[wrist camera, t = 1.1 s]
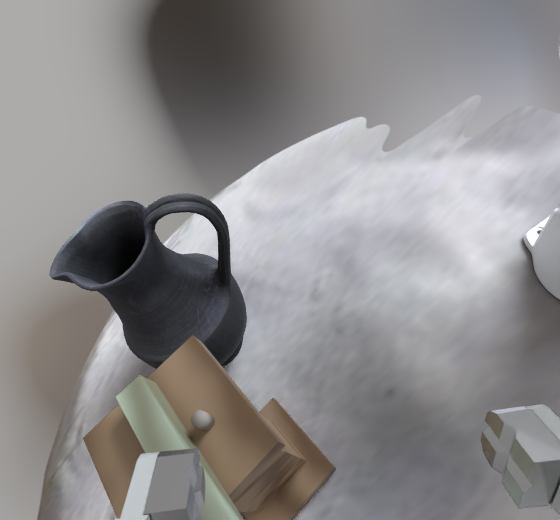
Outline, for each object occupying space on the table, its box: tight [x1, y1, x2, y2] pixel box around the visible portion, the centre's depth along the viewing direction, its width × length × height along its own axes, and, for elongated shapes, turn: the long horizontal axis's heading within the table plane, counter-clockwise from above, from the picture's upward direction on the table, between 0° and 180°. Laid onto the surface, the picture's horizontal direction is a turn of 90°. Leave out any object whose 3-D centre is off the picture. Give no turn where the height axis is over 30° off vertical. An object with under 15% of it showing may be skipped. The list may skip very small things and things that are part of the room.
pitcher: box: [50, 194, 247, 369], centre depth 50 cm, size 17×21×30 cm
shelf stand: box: [83, 335, 336, 520], centre depth 38 cm, size 12×12×28 cm
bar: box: [116, 375, 244, 520], centre depth 25 cm, size 2×19×2 cm, turn 42°
